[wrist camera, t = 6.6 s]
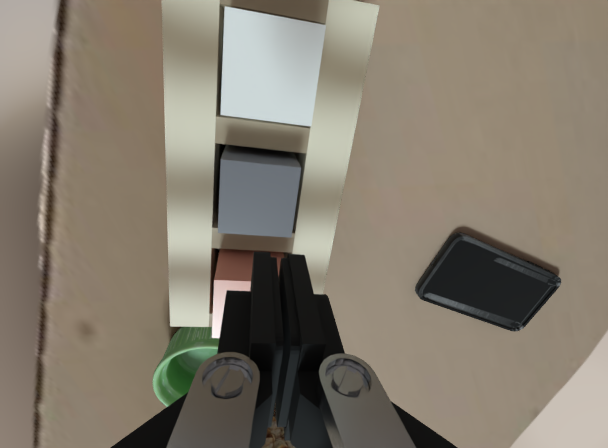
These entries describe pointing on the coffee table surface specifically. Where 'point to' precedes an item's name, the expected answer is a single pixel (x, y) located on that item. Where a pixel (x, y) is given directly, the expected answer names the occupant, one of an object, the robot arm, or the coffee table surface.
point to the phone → (486, 283)
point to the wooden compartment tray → (253, 140)
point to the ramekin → (183, 362)
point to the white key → (270, 67)
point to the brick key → (233, 279)
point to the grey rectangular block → (258, 191)
